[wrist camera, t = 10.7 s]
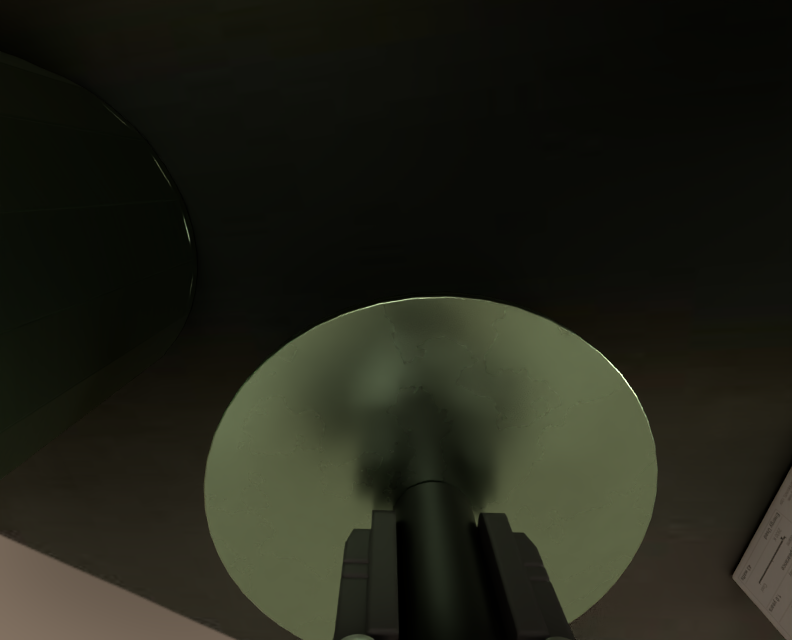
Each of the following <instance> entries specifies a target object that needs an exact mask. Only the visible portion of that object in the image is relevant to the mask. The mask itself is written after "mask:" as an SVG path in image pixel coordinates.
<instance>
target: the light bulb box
mask: <svg viewBox="0 0 792 640" xmlns="http://www.w3.org/2000/svg"><path fill="white" fill-rule="evenodd" d="M732 578H733V579H734V581H735V582H736V583H737V584H738V585H739V586H740V588H741V589H742V590H743V591H744V592H745V593H746V594H747V596H748V597H749V598H750V599H751V600H752V601H753V602H754V604H755V605H756V606H757V607H758V608H759V609H760V610H761V611H762V613H763V614H764V615H765V616H766V617H767V618H768V619H769V621H770V622H771V623H772V624H773V625H774V626H775V628H776V629H777V630H778V631H779V632H780V633H781V634H782V635H783V637H784V638H785V639H786V640H792V467H791V469H790V470H789V472H788V474H787V476H786V478H785V480H784V482H783V483H782V485H781V487H780V489H779V491H778V492H777V494H776V496H775V498H774V500H773V502H772V504H771V505H770V507H769V509H768V511H767V513H766V515H765V516H764V518H763V520H762V522H761V524H760V526H759V527H758V529H757V531H756V533H755V535H754V537H753V538H752V540H751V542H750V544H749V546H748V548H747V550H746V551H745V553H744V555H743V557H742V559H741V561H740V563H739V564H738V566H737V568H736V570H735V572H734V574H733V576H732Z"/></svg>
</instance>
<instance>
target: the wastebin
mask: <svg viewBox="0 0 792 640" xmlns="http://www.w3.org/2000/svg"><path fill="white" fill-rule="evenodd" d="M196 278H197V256H196V246H195V240H194V235H193V229H192V226H191V223H190V219H189V216H188V213H187V210H186V207H185V204H184V202H183V200H182V198H181V195H180V193H179V191H178V189H177V186H176V184H175V183H174V181H173V179H172V178H171V176H170V174H169V172H168V171H167V169H166V167H165V166H164V164H163V163H162V161H161V160H160V158H159V157H158V156H157V154H156V153H155V152H154V150H153V149H152V148H151V146H150V145H149V144H148V142H147V141H146V140H145V139H144V138H143V137H142V136H141V135H140V134H139V133H138V132H137V131H136V129H135V128H134V127H133V126H132V125H131V124H130V123H129V122H128V121H127V120H126V119H124V118H123V117H122V116H121V115H120V114H119V113H117V112H116V111H115V110H114V109H113V108H112V107H111V106H109V105H108V104H107V103H105V102H104V101H102V100H101V99H99V98H98V97H97V96H95V95H94V94H92V93H91V92H89V91H88V90H87V89H85V88H83V87H81V86H79V85H77V84H75V83H74V82H72V81H70V80H68V79H66V78H64V77H62V76H60V75H57V74H55V73H52V72H50V71H47V70H45V69H42V68H40V67H38V66H36V65H34V64H32V63H29V62H27V61H25V60H23V59H21V58H19V57H16V56H13V55H10V54H7V53H4V52H1V51H0V480H1V479H2V478H3V477H5V476H6V475H7V474H8V473H10V472H11V471H12V470H14V469H15V468H16V467H18V466H19V465H20V464H22V463H23V462H24V461H26V460H27V459H28V458H30V457H31V456H32V455H34V454H35V453H36V452H37V451H39V450H40V449H41V448H43V447H44V446H45V445H47V444H48V443H49V442H51V441H52V440H53V439H55V438H56V437H57V436H59V435H60V434H61V433H63V432H64V431H65V430H66V429H68V428H69V427H70V426H72V425H73V424H74V423H76V422H77V421H78V420H80V419H81V418H82V417H84V416H85V415H86V414H88V413H89V412H90V411H91V410H93V409H94V408H95V407H97V406H98V405H99V404H101V403H102V402H103V401H105V400H106V399H107V398H109V397H110V396H111V395H113V394H114V393H115V392H117V391H118V390H119V389H120V388H122V387H123V386H124V385H126V384H127V383H128V382H130V381H131V380H132V379H134V378H135V377H136V376H138V375H139V374H140V373H142V372H143V371H144V370H146V369H147V368H148V367H149V366H151V365H152V364H153V363H155V362H156V361H157V360H159V359H160V358H161V357H162V356H163V355H165V353H166V351H167V350H168V348H169V347H170V346H171V345H172V344H173V343H174V341H175V340H176V338H177V337H178V335H179V333H180V332H181V330H182V328H183V327H184V325H185V322H186V320H187V317H188V315H189V313H190V310H191V307H192V303H193V298H194V294H195V289H196Z"/></svg>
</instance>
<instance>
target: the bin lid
mask: <svg viewBox="0 0 792 640" xmlns="http://www.w3.org/2000/svg"><path fill="white" fill-rule="evenodd" d="M657 475H658V467H657V458H656V449H655V443H654V439H653V436H652V432H651V429H650V425H649V422H648V419H647V417H646V414H645V412H644V410H643V408H642V406H641V404H640V402H639V400H638V398H637V396H636V394H635V393H634V391H633V390H632V388H631V387H630V386H629V384H628V383H627V381H626V380H625V378H624V377H623V376H622V374H621V373H620V372H619V371H618V370H617V369H616V368H615V367H614V365H613V364H612V363H611V362H610V361H609V360H608V359H607V358H606V357H605V356H604V355H603V354H602V353H601V352H600V351H598V350H597V349H596V348H595V347H593V346H592V345H591V344H589V343H588V342H587V341H585V340H584V339H583V338H581V337H580V336H579V335H578V334H576V333H575V332H574V331H572V330H571V329H570V328H568V327H566V326H564V325H563V324H561V323H559V322H557V321H555V320H553V319H552V318H550V317H548V316H546V315H544V314H543V313H540V312H537V311H535V310H532V309H529V308H527V307H524V306H522V305H519V304H516V303H514V302H510V301H506V300H501V299H497V298H493V297H488V296H484V295H479V294H469V293H458V292H448V291H444V292H413V293H407V294H401V295H394V296H388V297H382V298H378V299H374V300H371V301H367V302H364V303H360V304H357V305H354V306H350V307H347V308H345V309H343V310H340V311H338V312H336V313H334V314H331V315H329V316H327V317H324V318H322V319H320V320H318V321H316V322H314V323H313V324H311V325H309V326H308V327H306V328H305V329H303V330H301V331H300V332H298V333H296V334H295V335H293V336H291V337H290V338H289V339H288V340H286V341H285V342H284V343H283V344H281V345H280V346H279V347H278V348H277V349H275V350H274V351H273V352H272V353H270V354H269V355H268V356H267V357H266V358H265V359H264V360H263V361H262V362H261V363H260V364H259V366H258V367H257V368H256V369H255V370H254V371H253V372H252V373H251V374H250V375H249V376H248V378H247V379H246V380H245V382H244V383H243V384H242V386H241V387H240V389H239V390H238V392H237V393H236V395H235V396H234V397H233V399H232V400H231V402H230V403H229V405H228V406H227V408H226V409H225V411H224V414H223V416H222V418H221V420H220V422H219V424H218V426H217V429H216V431H215V433H214V435H213V439H212V442H211V446H210V449H209V453H208V456H207V461H206V469H205V478H204V500H205V512H206V517H207V522H208V526H209V531H210V535H211V537H212V540H213V542H214V545H215V548H216V550H217V553H218V555H219V557H220V559H221V561H222V563H223V564H224V566H225V568H226V570H227V571H228V573H229V575H230V576H231V578H232V579H233V580H234V582H235V583H236V584H237V586H238V587H239V588H240V589H241V591H242V592H243V593H244V595H245V596H246V597H247V598H248V599H249V600H250V601H251V602H252V603H253V604H254V605H255V606H256V607H257V608H258V609H259V610H260V611H261V612H263V613H264V614H265V615H267V616H268V617H269V618H270V619H272V620H273V621H274V622H276V623H277V624H278V625H279V626H281V627H283V628H284V629H286V630H288V631H289V632H291V633H292V634H294V635H296V636H297V637H299V638H301V639H303V640H333V637H334V631H335V623H336V614H337V606H338V597H339V589H340V580H341V572H342V564H343V555H344V547H345V542H346V541H347V539H348V537H349V536H350V534H351V532H352V531H353V529H371V522H372V510H395V511H396V543H397V580H398V617H399V638H398V640H507V639H506V635H505V632H504V628H503V624H502V620H501V616H500V613H499V609H498V605H497V601H496V597H495V594H494V590H493V586H492V582H491V578H490V575H489V571H488V567H487V563H486V559H485V556H484V552H483V548H482V544H481V540H480V537H479V533H478V529H477V525H478V518H479V514H480V513H505V514H506V516H507V518H508V521H509V524H510V527H511V529H512V532H524V533H525V534H526V536H527V537H528V538H529V539H530V540H531V541H532V542H533V544H534V545H535V546H536V547H537V549H538V552H539V554H540V556H541V559H542V561H543V564H544V568H546V571H547V573H548V576H549V578H550V582H551V583H552V585H553V588H554V590H555V593H556V595H557V597H558V600H559V602H560V605H561V607H562V609H563V612H564V614H565V617H566V619H567V622H568V624H569V623H570V622H572V621H573V620H575V619H576V618H578V617H579V616H581V615H582V614H583V613H585V612H586V611H587V610H588V609H589V608H590V607H591V606H593V605H594V604H595V603H596V602H597V601H598V600H600V599H601V598H602V597H603V596H604V595H605V593H606V592H607V591H608V590H609V589H610V588H611V587H612V586H613V585H614V584H615V583H616V582H617V581H618V579H619V578H620V576H621V575H622V574H623V572H624V571H625V570H626V568H627V567H628V565H629V564H630V563H631V561H632V560H633V558H634V556H635V554H636V552H637V550H638V548H639V547H640V545H641V543H642V541H643V539H644V536H645V534H646V531H647V528H648V525H649V523H650V520H651V517H652V513H653V508H654V503H655V499H656V494H657Z"/></svg>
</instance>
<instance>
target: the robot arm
mask: <svg viewBox="0 0 792 640" xmlns="http://www.w3.org/2000/svg"><path fill="white" fill-rule="evenodd" d="M477 529H478V533H479V537H480V540H481V544H482V548H483V552H484V556H485V559H486V563H487V567H488V571H489V575H490V578H491V582H492V586H493V590H494V594H495V597H496V601H497V605H498V609H499V613H500V616H501V620H502V624H503V628H504V632H505V635H506V639H507V640H575V638H574V636H573V634H572V631H571V629H570V626H569V624H568V622H567V619H566V617H565V614H564V612H563V609H562V607H561V605H560V602H559V600H558V597H557V595H556V593H555V590H554V588H553V585H552V583H551V582H550V578H549V576H548V573H547V571H546V568H544V564H543V561H542V559H541V556H540V554H539V552H538V549H537V547H536V546H535V545H534V544H533V542H532V541H531V540H530V539H529V538H528V537H527V536H526V534H525V533H524V532H512V529H511V527H510V524H509V521H508V518H507V516H506V514H505V513H480V514H479V518H478V525H477ZM398 638H399V617H398V580H397V543H396V511H395V510H372V522H371V529H353V531H352V532H351V534H350V536H349V537H348V539H347V541H346V542H345V547H344V555H343V564H342V572H341V580H340V589H339V597H338V606H337V614H336V623H335V631H334V637H333V640H398Z"/></svg>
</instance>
